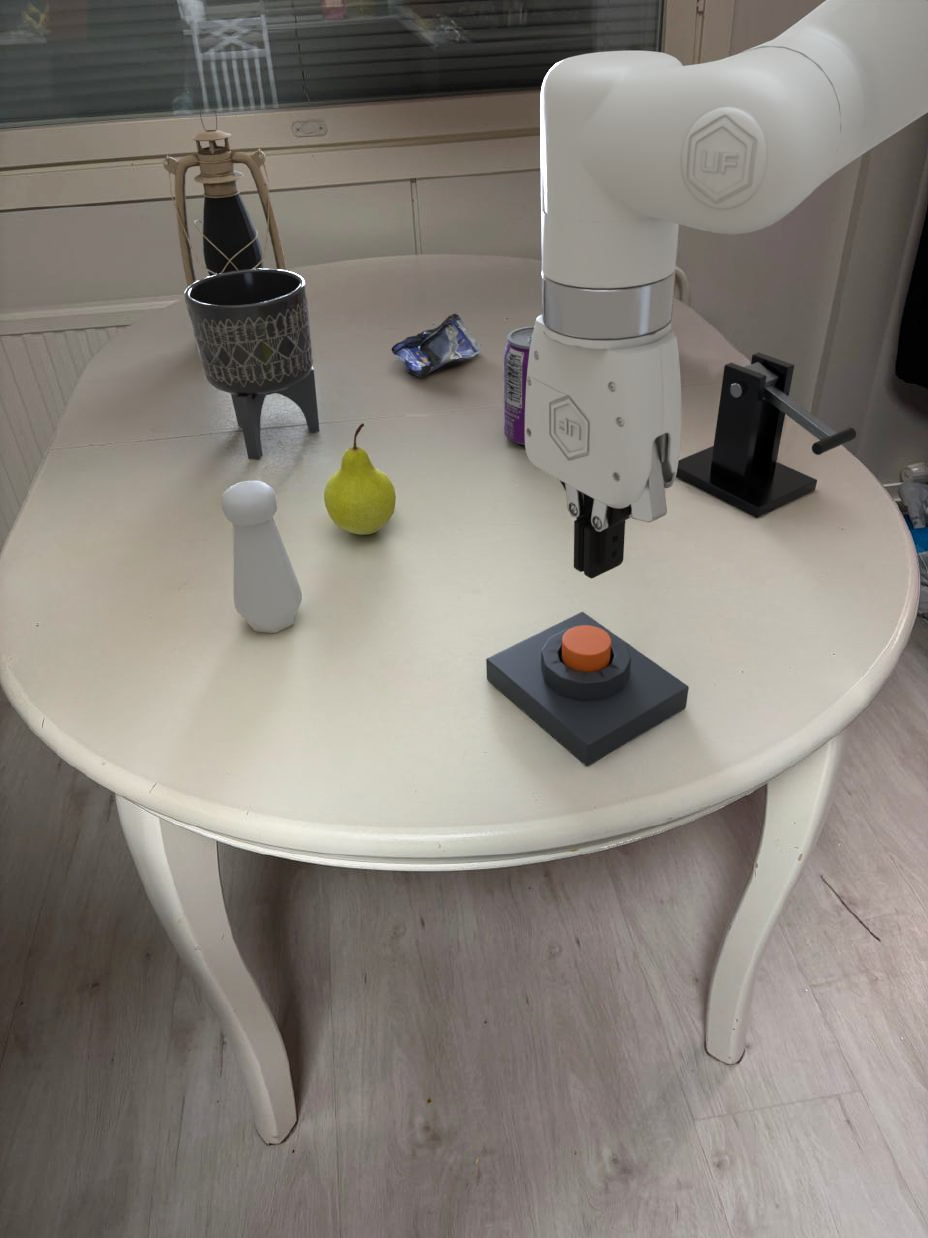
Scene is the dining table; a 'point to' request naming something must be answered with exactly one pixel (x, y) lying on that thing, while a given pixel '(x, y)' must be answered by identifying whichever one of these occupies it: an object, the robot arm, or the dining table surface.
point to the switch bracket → (748, 445)
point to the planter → (255, 343)
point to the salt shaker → (260, 559)
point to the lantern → (223, 208)
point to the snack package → (437, 347)
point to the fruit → (359, 493)
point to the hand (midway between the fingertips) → (598, 566)
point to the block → (586, 691)
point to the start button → (586, 648)
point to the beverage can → (516, 382)
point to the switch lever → (802, 415)
